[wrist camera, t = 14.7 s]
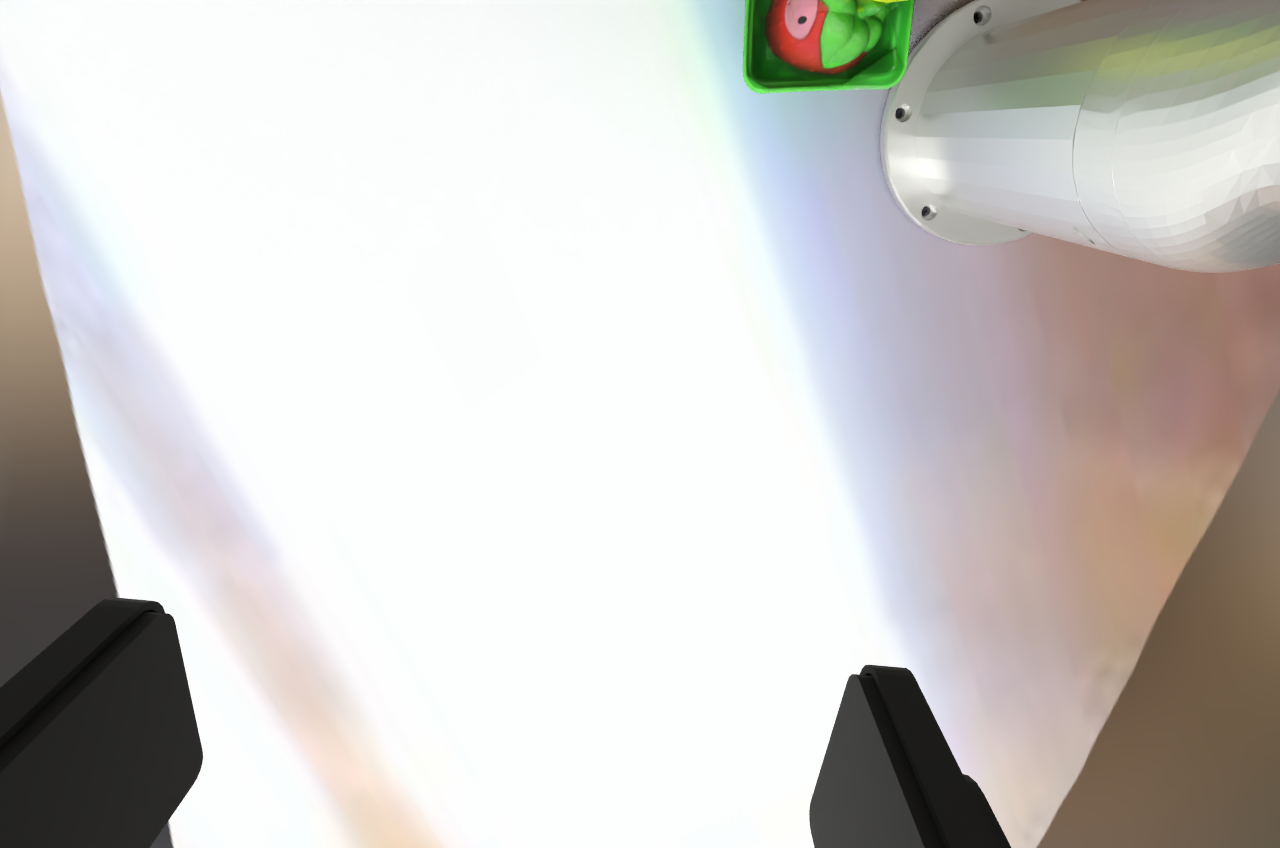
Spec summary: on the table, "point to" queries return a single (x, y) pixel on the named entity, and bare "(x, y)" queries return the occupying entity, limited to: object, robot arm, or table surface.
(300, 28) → the table surface
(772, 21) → the fruit basket
